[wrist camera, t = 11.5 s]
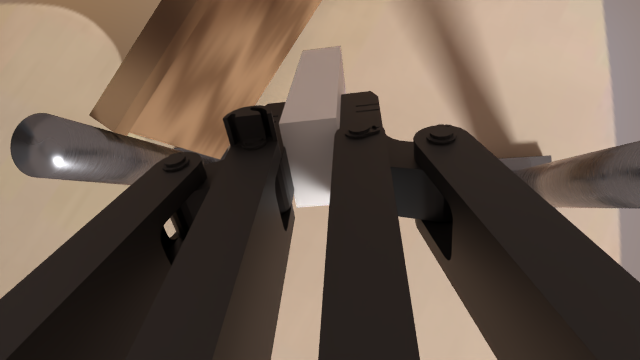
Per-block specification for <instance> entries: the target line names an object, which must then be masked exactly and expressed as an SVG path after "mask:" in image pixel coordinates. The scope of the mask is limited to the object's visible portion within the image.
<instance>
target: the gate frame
mask: <svg viewBox="0 0 640 360" xmlns="http://www.w3.org/2000/svg"><path fill="white" fill-rule="evenodd" d="M229 148H230V145H229V146H228V148H227V150H226V151H225V153H224V154H223V156H222V157H221V159H217V158H214V157H210V156H207V155H203V154H200V153H197V152H193V151H190V150H187V149H183V148H174V149H171V148H168V147H164V146H161V145H157V144H154V143H150V142H147V141H143V140H139V139H136V138H132V137H129V136H125V135H122V134H118V133H115V132H111V131H107V130H104V129H100V128H97V127H93V126H90V125H86V124H82V123H79V122H75V121H72V120H68V119H65V118H61V117H58V116H54V115H50V114H47V113H37V114H33V115H31V116H28V117H27V118H25V119H24V120H23V121H22V122H21V123H20V124H19V125H18V126H17V127H16V129H15V131H14V133H13V136H12V139H11V155H12V159H13V161H14V163H15V165H16V166H17V168H18V169H19V170H20V171H21V172H23V173H24V174H26V175H28V176H31V177H37V178H49V179H62V180H74V181H86V182H98V183H110V184H123V185H132V184H133V183H134V182H135V181H136V180H138V179H139V178H140V177H141V176H142V175H143V174H145V173H146V172H147V171H148V170H149V169H150V168H151V167H153V166H154V165H155V164H156V163H158V162H159V161H160V160H162V159H164V158H166V157H168V156H169V155H171V154H174V153H176V154H177V153H178V152H193V153H197V154H199V155H200V156H201V158H202V161H203V164H204V165H205V164H209V163H213V162H217V161H220V160H223V159H224V158H225V156H226V154H227V152H228V150H229ZM499 160H500V161H501V162H502V163H504V164H505V165H506V166H507V167H508V168H509V169H510V170H512V171H513V172H514V173H515V174H516V175H517V176H518V177H520V178H521V179H522V180H523V181H524V182H525V183H526V184H528V185H529V186H530V187H531V188H532V189H533V190H534V191H536V192H537V193H538V194H539V195H540V196H541V197H542V198H544V199H545V200H546V201H547V202H548V203H549V204H550V205H552V206H553V207H554V208H555V207H567V208H640V141H638V142H633V143H629V144H625V145H621V146H616V147H612V148H608V149H604V150H600V151H596V152H591V153H587V154H583V155H579V156H575V157H571V158H566V159H562V160H558V161H554V162H551V156H536V157H519V158H502V159H499Z"/></svg>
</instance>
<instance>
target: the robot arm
mask: <svg viewBox="0 0 640 360" xmlns="http://www.w3.org/2000/svg"><path fill="white" fill-rule="evenodd" d="M223 122H224V125H225V129H226V132H227V136H228V139H229V142H230V148H229V150H228V152H227V154H226V156H225V158H224V159H223V160H220V161H217V162H213V163H209V164H205V165H204V164H203V161H202V158H201V156H200V155H199V154H197V153H193V152H178V153H177V154H176V153H174V154H171V155H169V156H168V157H166V158H164V159H162V160H160V161H159V162H158V163H156V164H155V165H154V166H153V167H151V168H150V169H149V170H148V171H147V172H146V173H145V174H143V175H142V176H141V177H140V178H139V179H138V180H136V181H135V182H134V183H133V184H132V185H131V186H130V187H128V188H127V189H126V190H125V191H124V192H123V193H122V194H120V195H119V196H118V197H117V198H116V199H115V200H114V201H112V202H111V203H110V204H109V205H108V206H107V207H106V208H104V209H103V210H102V211H101V212H100V213H99V214H97V215H96V216H95V217H94V218H93V219H92V220H91V221H89V222H88V223H87V224H86V225H85V226H84V227H83V228H81V229H80V230H79V231H78V232H77V233H76V234H75V235H73V236H72V237H71V238H70V239H69V240H68V241H67V242H65V243H64V244H63V245H62V246H61V247H60V248H58V249H57V250H56V251H55V252H54V253H53V254H52V255H50V256H49V257H48V258H47V259H46V260H45V261H44V262H42V263H41V264H40V265H39V266H38V267H37V268H36V269H34V270H33V271H32V272H31V273H30V274H29V275H27V276H26V277H25V278H24V279H23V280H22V281H21V282H19V283H18V284H17V285H16V286H15V287H14V288H13V289H11V290H10V291H9V292H8V293H7V294H6V295H5V296H3V297H2V298H1V299H0V360H271V354H272V348H273V343H274V337H275V331H276V325H277V319H278V313H279V308H280V302H281V296H282V290H283V284H284V278H285V272H286V267H287V261H288V255H289V249H290V243H291V237H292V232H293V226H294V220H295V216H294V210H293V206H292V200H293V195H294V197H295V202H296V206H297V208H298V207H310V206H323V205H329V217H328V231H327V245H326V259H325V273H324V287H323V301H322V315H321V329H320V343H319V357H318V360H420V357H419V350H418V344H417V337H416V331H415V324H414V318H413V311H412V305H411V298H410V292H409V285H408V279H407V272H406V266H405V259H404V252H403V246H402V239H401V233H400V226H399V220H398V216H400V217H407V218H414V219H415V222H416V226H417V228H418V230H419V232H420V233H421V235H422V237H423V238H424V240H425V242H426V243H427V245H428V247H429V248H430V250H431V251H432V253H433V255H434V256H435V258H436V260H437V261H438V263H439V265H440V266H441V268H442V269H443V271H444V273H445V274H446V276H447V278H448V279H449V281H450V283H451V284H452V286H453V287H454V289H455V291H456V292H457V294H458V296H459V297H460V299H461V301H462V302H463V304H464V306H465V307H466V309H467V310H468V312H469V314H470V315H471V317H472V319H473V320H474V322H475V324H476V325H477V327H478V328H479V330H480V332H481V333H482V335H483V337H484V338H485V340H486V342H487V343H488V345H489V347H490V348H491V350H492V351H493V353H494V355H495V356H496V358H497V360H640V282H639V281H637V280H636V279H635V278H634V277H633V276H632V275H630V274H629V273H628V272H627V271H626V270H625V269H624V268H623V267H621V266H620V265H619V264H618V263H617V262H616V261H615V260H613V259H612V258H611V257H610V256H609V255H608V254H607V253H605V252H604V251H603V250H602V249H601V248H600V247H599V246H597V245H596V244H595V243H594V242H593V241H592V240H591V239H589V238H588V237H587V236H586V235H585V234H584V233H583V232H581V231H580V230H579V229H578V228H577V227H576V226H574V225H573V224H572V223H571V222H570V221H569V220H568V219H566V218H565V217H564V216H563V215H562V214H561V213H560V212H558V211H557V210H556V209H555V208H554V207H553V206H552V205H550V204H549V203H548V202H547V201H546V200H545V199H544V198H542V197H541V196H540V195H539V194H538V193H537V192H536V191H534V190H533V189H532V188H531V187H530V186H529V185H528V184H526V183H525V182H524V181H523V180H522V179H521V178H520V177H518V176H517V175H516V174H515V173H514V172H513V171H512V170H510V169H509V168H508V167H507V166H506V165H505V164H504V163H502V162H501V161H500V160H499V159H498V158H497V157H496V156H494V155H493V154H492V153H491V152H490V151H489V150H488V149H486V148H485V147H484V146H483V145H482V144H481V143H480V142H478V141H477V140H476V139H475V138H474V137H473V136H472V135H470V134H469V133H468V132H467V131H465V130H463V129H462V128H459V127H455V126H451V125H436V126H430V127H427V128H424V129H421V130H420V131H418V132H417V133H416V134H415V136H414V138H413V140H414V142H407V141H399V140H396V139H392V138H390V137H388V136H387V135H386V134H385V130H384V128H383V126H382V120H381V113H380V106H379V100H378V96H377V95H375V94H374V93H373V92H371V91H368V92H359V93H350V94H346V89H345V80H344V71H343V62H342V54H341V46H336V47H328V48H320V49H312V50H305V51H302V54H301V57H300V60H299V63H298V66H297V69H296V72H295V75H294V79H293V82H292V85H291V88H290V91H289V94H288V97H287V100H286V102H281V103H272V104H267V105H266V106H261V105H259V106H248V107H242V108H239V109H237V110H234V111H232V112H230V113H228V114H227V115H226V116H225V117H224V118H223ZM169 218H171V221H172V223H173V225H174V228H175V230H176V232H175V234H174V235H173V236H172V237H170V238H169V237H168V235H167V233H166V231H165V229H164V224H165V223H166V222H167V220H168V219H169Z"/></svg>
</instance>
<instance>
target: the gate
mask: <svg viewBox="0 0 640 360" xmlns="http://www.w3.org/2000/svg"><path fill="white" fill-rule="evenodd" d="M321 1H322V0H162V1H161V2H160V4H159V5H158V7H157V8H156V10H155V11H154V13H153V15H152V16H151V18H150V19H149V21H148V23H147V24H146V26H145V27H144V29H143V30H142V32H141V34H140V35H139V37H138V38H137V40H136V42H135V43H134V45H133V46H132V48H131V50H130V51H129V53H128V54H127V56H126V57H125V59H124V61H123V62H122V64H121V65H120V67H119V69H118V70H117V72H116V73H115V75H114V77H113V78H112V80H111V81H110V83H109V84H108V86H107V88H106V89H105V91H104V92H103V94H102V96H101V97H100V99H99V100H98V102H97V104H96V105H95V107H94V108H93V110H92V111H91V113H90V116H91V117H93V118H94V119H95V120H97V121H98V122H100V123H101V124H103V125H104V126H106V127H107V128H109V129H110V130H111V131H113V132H115V133H119V134H122V135H126V136H127V135H128V133H129V132H130V133H133V134H136V135H140V136H143V137H147V138H150V139H153V140H157V141H160V142H163V143H167V144H170V145H173V146H177V147H180V148H183V149H187V150H190V151H193V152H197V153H200V154H203V155H207V156H210V157H214V158H217V159H221V157H222V156H223V154H224V153H225V151H226V150H227V148H228V146H229V145H230V142H229V139H228V136H227V132H226V129H225V125H224V122H223V118H224V117H225V116H226V115H227V114H228V113H230V112H232V111H234V110H237V109H239V108H242V107H248V106H255V104H256V102H257V101H258V99H259V98H260V96H261V95H262V93H263V92H264V90H265V88H266V87H267V85H268V84H269V82H270V81H271V79H272V77H273V76H274V74H275V73H276V71H277V70H278V68H279V66H280V65H281V63H282V62H283V60H284V59H285V57H286V55H287V54H288V52H289V51H290V49H291V48H292V46H293V44H294V43H295V41H296V40H297V38H298V37H299V35H300V34H301V32H302V30H303V29H304V27H305V26H306V24H307V23H308V21H309V19H310V18H311V16H312V15H313V13H314V12H315V10H316V8H317V7H318V5H319V4H320V2H321Z"/></svg>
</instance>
